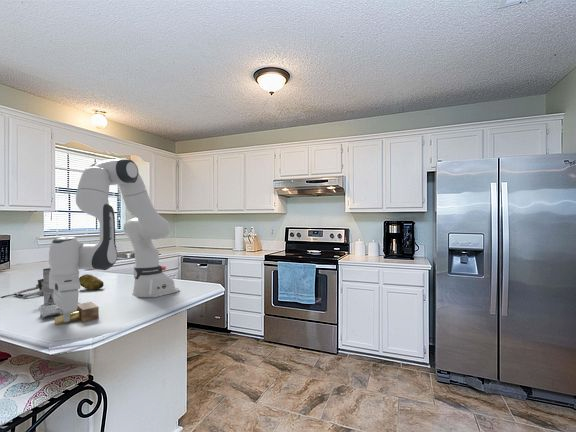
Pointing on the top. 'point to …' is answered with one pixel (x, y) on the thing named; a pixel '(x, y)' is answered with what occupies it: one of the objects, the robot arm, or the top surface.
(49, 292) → the coffee box
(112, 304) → the top surface
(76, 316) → the axle
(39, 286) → the bike brake
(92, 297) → the top surface
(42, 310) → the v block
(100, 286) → the potato
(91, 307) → the slotted wooden block
